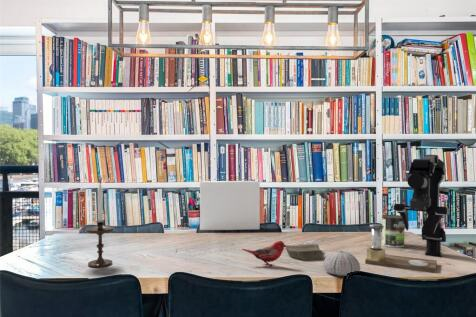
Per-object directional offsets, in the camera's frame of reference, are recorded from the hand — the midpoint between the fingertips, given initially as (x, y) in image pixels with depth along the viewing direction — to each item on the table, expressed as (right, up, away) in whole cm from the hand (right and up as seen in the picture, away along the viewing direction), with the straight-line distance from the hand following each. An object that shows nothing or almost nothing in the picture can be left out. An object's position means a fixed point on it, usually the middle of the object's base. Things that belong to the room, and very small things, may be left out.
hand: (420, 231), depth 149 cm
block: (-75, -14, +83) cm, 112 cm away
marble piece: (-40, -15, +20) cm, 47 cm away
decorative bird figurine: (-59, -14, +4) cm, 61 cm away
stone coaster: (0, -13, +1) cm, 13 cm away
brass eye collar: (-14, -13, +9) cm, 21 cm away
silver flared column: (-14, -13, +9) cm, 21 cm away
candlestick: (-124, -14, +5) cm, 125 cm away
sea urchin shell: (-31, -15, -5) cm, 35 cm away
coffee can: (+6, -14, +40) cm, 42 cm away
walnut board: (-4, -14, +7) cm, 16 cm away
